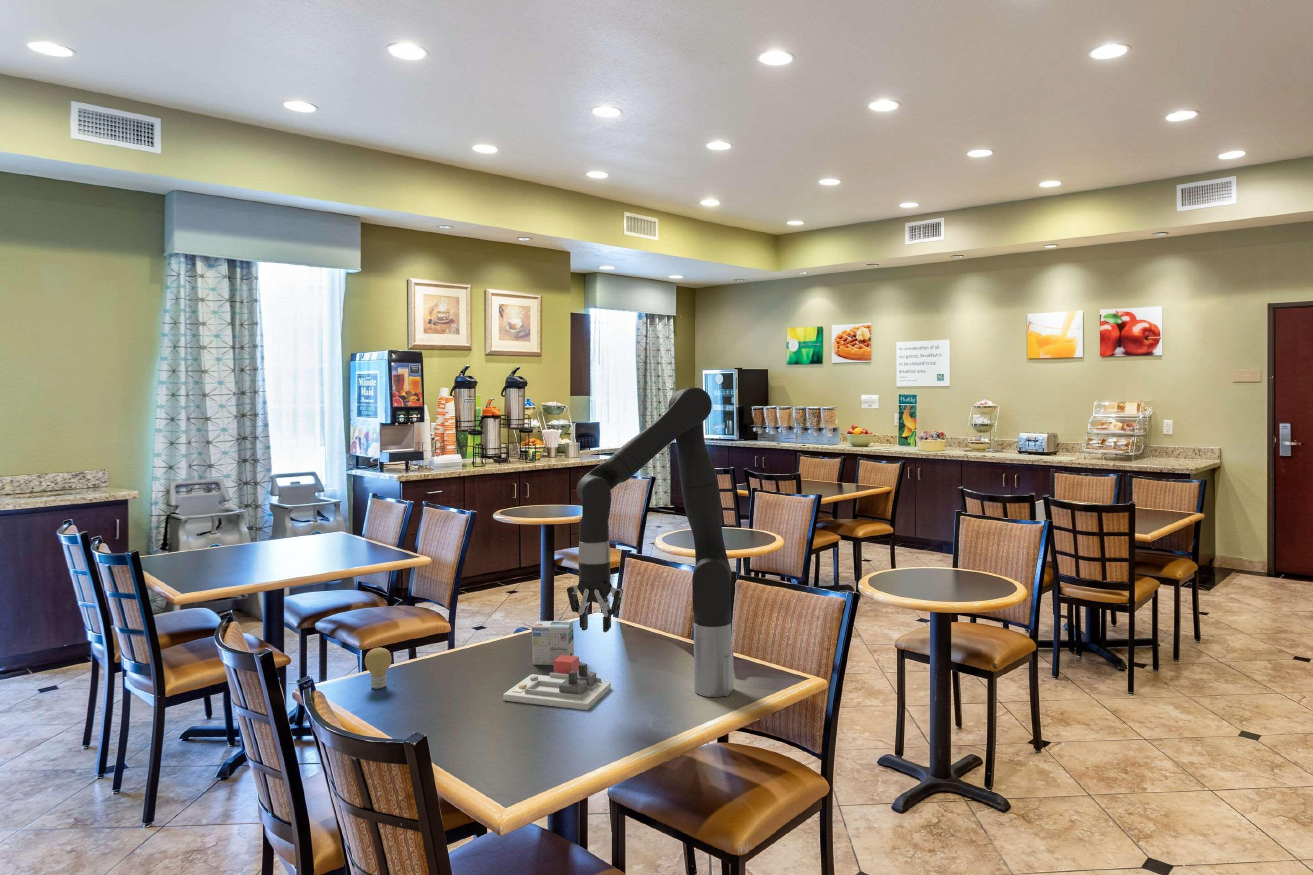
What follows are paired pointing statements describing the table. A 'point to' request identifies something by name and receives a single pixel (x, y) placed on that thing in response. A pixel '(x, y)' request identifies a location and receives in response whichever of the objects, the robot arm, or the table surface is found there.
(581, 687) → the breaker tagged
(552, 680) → the panel
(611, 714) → the table surface
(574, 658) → the cap
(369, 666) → the light bulb
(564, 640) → the light bulb box
